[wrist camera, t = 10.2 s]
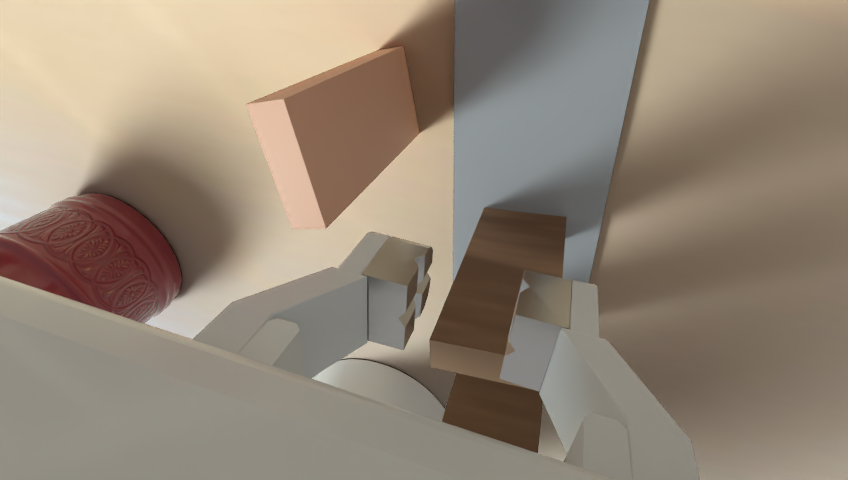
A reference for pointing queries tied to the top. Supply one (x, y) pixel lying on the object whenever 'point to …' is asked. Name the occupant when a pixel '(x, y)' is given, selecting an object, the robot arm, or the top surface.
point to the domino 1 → (335, 134)
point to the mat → (541, 112)
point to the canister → (94, 256)
